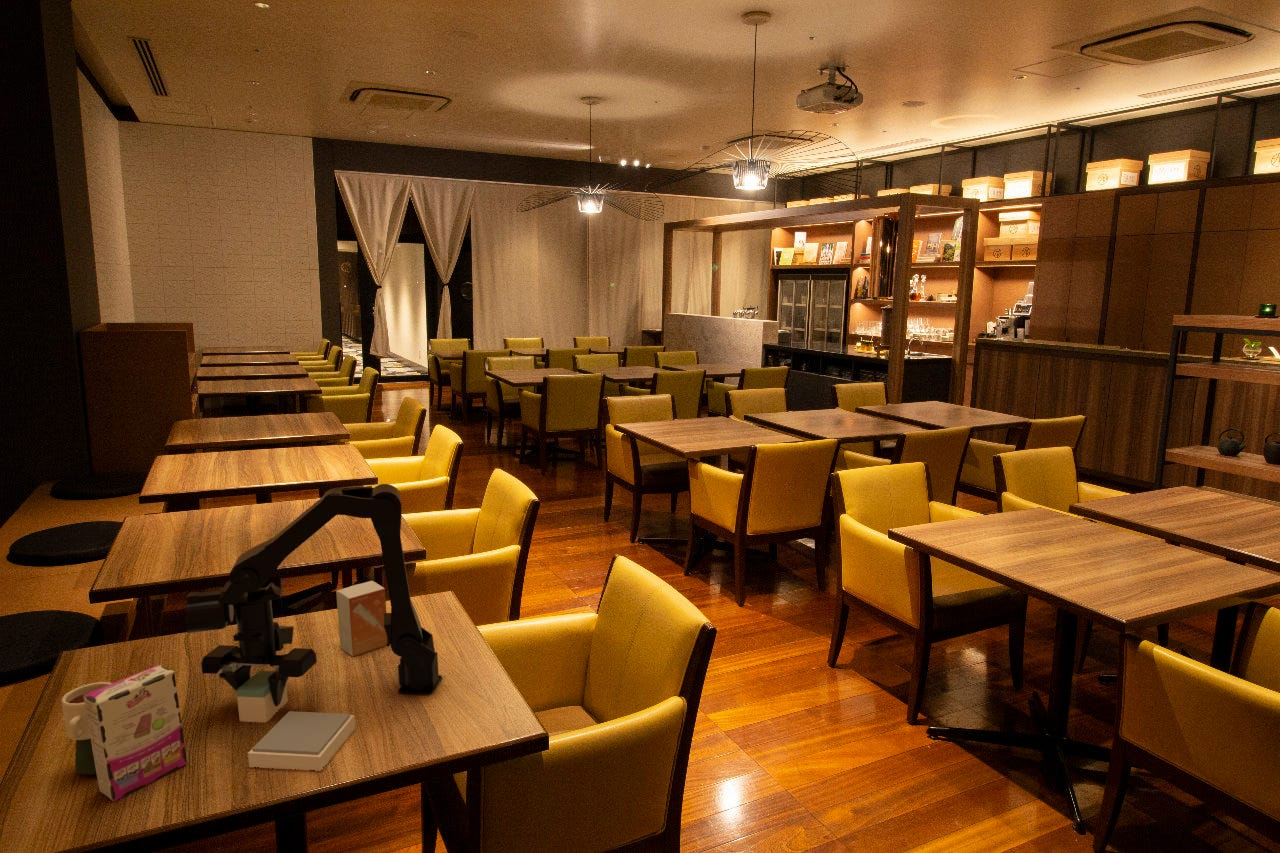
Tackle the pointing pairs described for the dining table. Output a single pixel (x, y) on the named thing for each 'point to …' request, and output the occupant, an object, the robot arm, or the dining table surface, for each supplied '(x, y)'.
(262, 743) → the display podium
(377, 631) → the small box
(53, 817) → the dining table surface
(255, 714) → the cream carton
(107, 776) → the candy bar box
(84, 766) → the character mug
